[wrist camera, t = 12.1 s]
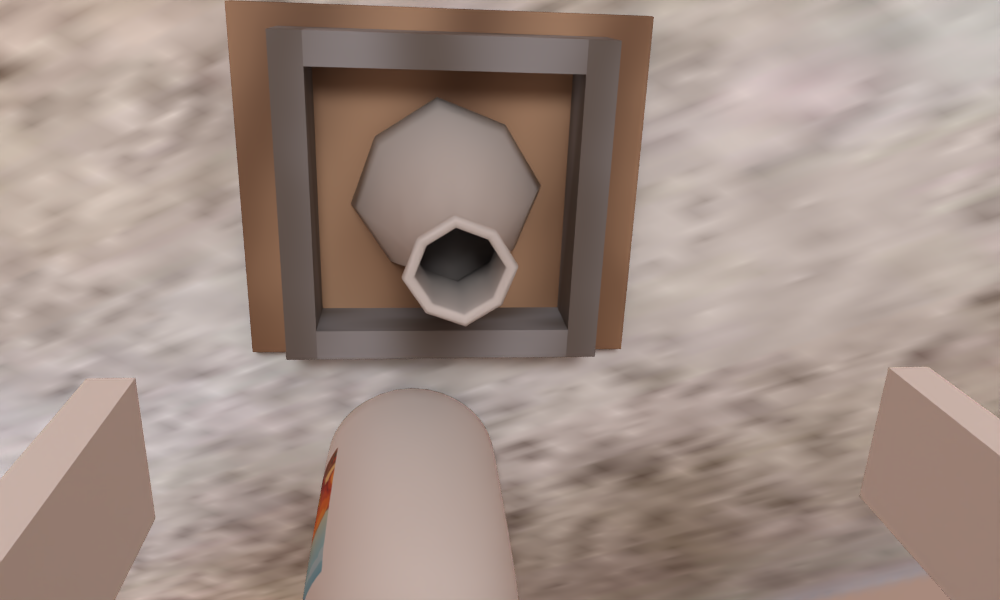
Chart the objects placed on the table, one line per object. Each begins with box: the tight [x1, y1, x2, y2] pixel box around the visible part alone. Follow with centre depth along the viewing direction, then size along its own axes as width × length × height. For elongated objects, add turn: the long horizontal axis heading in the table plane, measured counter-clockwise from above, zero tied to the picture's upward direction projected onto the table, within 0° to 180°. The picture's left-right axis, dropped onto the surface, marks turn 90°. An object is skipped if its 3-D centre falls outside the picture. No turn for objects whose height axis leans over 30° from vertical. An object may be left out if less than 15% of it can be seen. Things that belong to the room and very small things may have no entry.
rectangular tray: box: [225, 0, 654, 360], centre depth 32 cm, size 16×14×4 cm
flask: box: [351, 97, 541, 327], centre depth 28 cm, size 7×7×10 cm
